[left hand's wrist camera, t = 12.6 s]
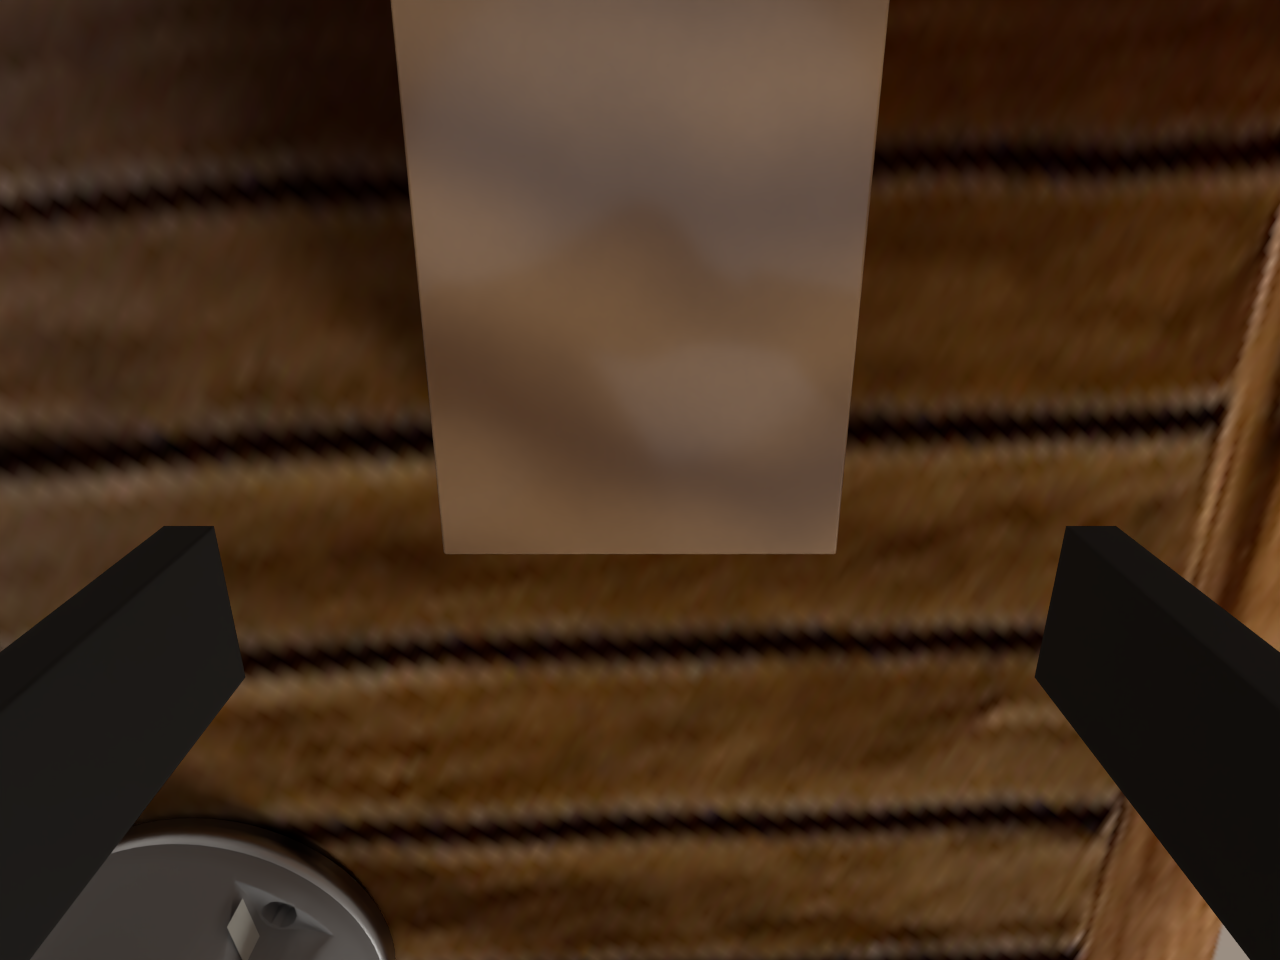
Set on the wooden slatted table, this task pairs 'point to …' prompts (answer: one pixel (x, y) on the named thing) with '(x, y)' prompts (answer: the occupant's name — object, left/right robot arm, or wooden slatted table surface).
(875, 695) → the wooden slatted table surface
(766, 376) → the cabinet
